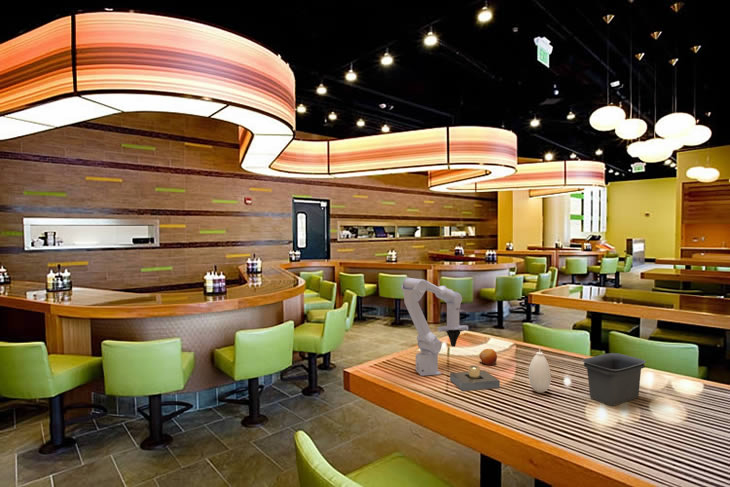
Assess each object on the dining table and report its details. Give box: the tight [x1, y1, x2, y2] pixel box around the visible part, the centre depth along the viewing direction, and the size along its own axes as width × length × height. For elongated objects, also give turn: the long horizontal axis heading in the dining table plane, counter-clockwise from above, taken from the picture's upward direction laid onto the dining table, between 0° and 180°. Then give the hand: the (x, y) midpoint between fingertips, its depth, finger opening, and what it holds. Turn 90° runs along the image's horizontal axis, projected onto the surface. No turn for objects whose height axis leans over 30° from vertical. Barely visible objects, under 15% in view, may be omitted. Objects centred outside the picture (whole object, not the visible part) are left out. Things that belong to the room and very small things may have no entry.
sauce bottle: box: [528, 345, 552, 394], centre depth 152 cm, size 8×8×18 cm
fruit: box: [478, 348, 498, 366], centre depth 187 cm, size 8×8×8 cm
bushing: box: [468, 364, 481, 380], centre depth 160 cm, size 4×4×7 cm
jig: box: [449, 370, 501, 392], centre depth 160 cm, size 16×12×3 cm
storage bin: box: [582, 352, 647, 407], centre depth 146 cm, size 21×16×14 cm
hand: (453, 346), depth 183 cm, fingers closed
